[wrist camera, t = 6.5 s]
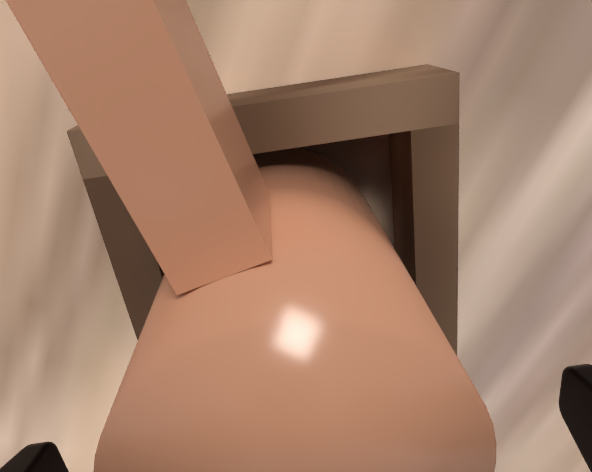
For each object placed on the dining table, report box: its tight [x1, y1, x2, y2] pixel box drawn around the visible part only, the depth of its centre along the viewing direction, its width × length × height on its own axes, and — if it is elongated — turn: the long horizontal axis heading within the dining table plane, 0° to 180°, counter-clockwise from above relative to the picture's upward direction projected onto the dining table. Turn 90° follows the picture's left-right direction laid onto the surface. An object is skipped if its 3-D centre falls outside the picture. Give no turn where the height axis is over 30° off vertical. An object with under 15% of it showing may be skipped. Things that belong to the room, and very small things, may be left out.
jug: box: [6, 0, 496, 472], centre depth 10 cm, size 11×6×9 cm, turn 21°
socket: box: [67, 65, 459, 356], centre depth 14 cm, size 9×9×2 cm
